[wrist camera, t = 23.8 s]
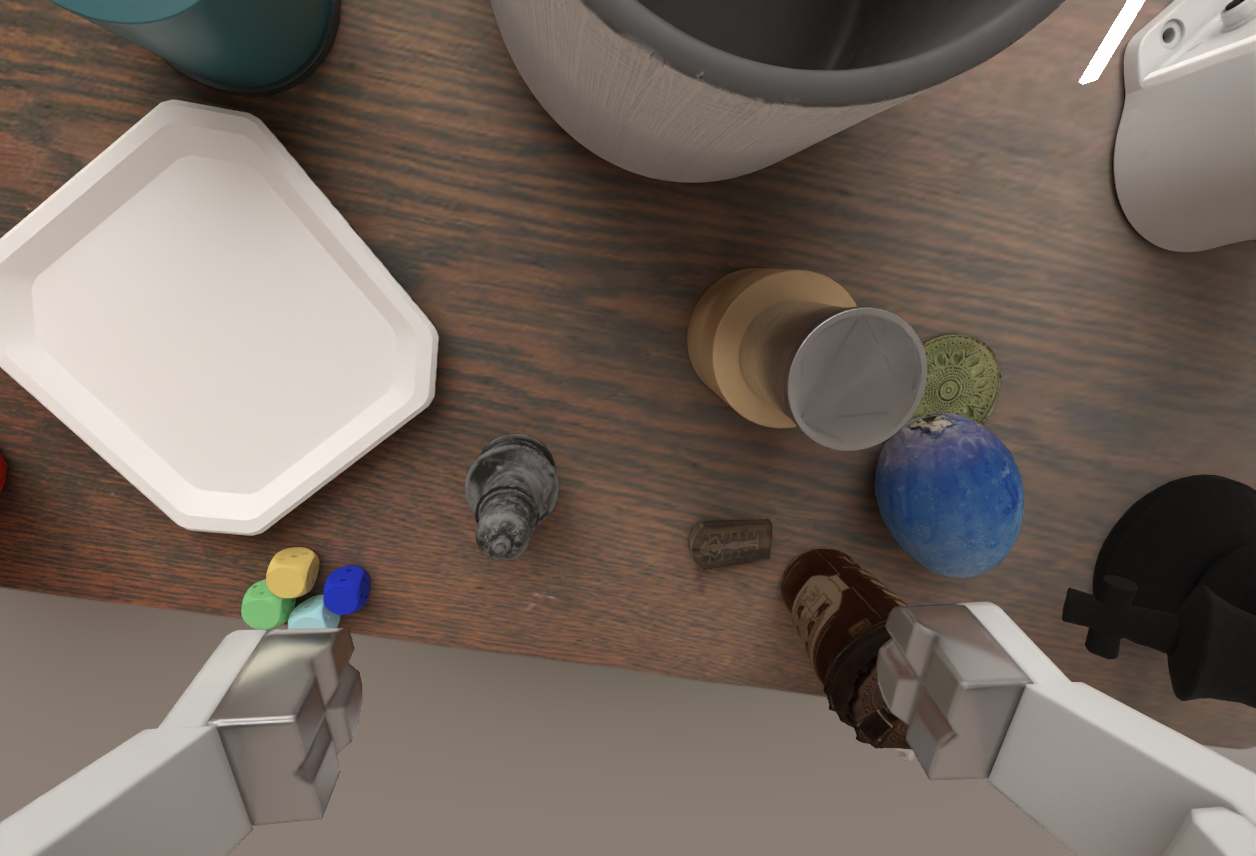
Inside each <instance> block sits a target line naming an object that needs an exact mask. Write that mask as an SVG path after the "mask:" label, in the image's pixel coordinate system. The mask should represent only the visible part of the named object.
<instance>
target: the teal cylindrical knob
mask: <svg viewBox="0 0 1256 856" xmlns="http://www.w3.org/2000/svg"><path fill="white" fill-rule="evenodd" d="M49 1H51V2H53V3H55V4H57V5H59V6H61V7H63V8H65V9H67V10H69V11H70V12H72V13H74V14H76V15H78V16H80V17H82V18H84V19H86V20H88V21H90V22H92V23H94V24H96V25H98V26H100V27H102V28H104V29H106V30H108V31H110V32H112V33H114V34H116V35H118V36H120V37H122V38H124V39H126V40H128V41H130V42H132V43H134V44H136V45H138V46H140V47H142V48H144V49H146V50H148V51H150V52H152V53H154V54H156V55H158V56H160V57H161V58H162V59H163V60H165V61H166V62H167V63H168V64H170V65H171V66H172V67H173V68H175V69H176V70H178V71H179V72H181V73H182V74H184V75H185V76H187V77H189V78H191V79H193V80H195V81H197V82H199V83H201V84H203V85H205V86H207V87H210V88H212V89H215V90H218V91H221V92H224V93H229V94H233V95H239V96H266V95H271V94H276V93H279V92H282V91H285V90H288V89H290V88H292V87H294V86H296V85H297V84H299V83H301V82H302V81H303V80H305V79H306V78H307V77H309V76H310V75H311V74H312V73H313V72H314V71H315V70H316V69H317V68H318V67H319V65H320V64H321V63H322V61H323V60H324V58H325V57H326V55H327V53H328V52H329V50H330V48H331V46H332V43H333V41H334V38H335V35H336V32H337V27H338V22H339V18H340V4H341V1H340V0H49Z"/></svg>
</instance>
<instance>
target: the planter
mask: <svg viewBox="0 0 1256 856" xmlns="http://www.w3.org/2000/svg"><path fill="white" fill-rule="evenodd" d="M1064 1H1065V0H490V3H491V6H492V9H493V13H494V16H495V19H496V22H497V25H498V28H499V30H500V33H501V35H502V38H503V40H504V43H505V45H506V47H507V49H508V52H509V54H510V56H511V58H512V60H513V62H514V64H515V65H516V67H517V69H518V71H519V73H520V74H521V76H522V78H523V79H524V81H525V83H526V84H527V86H528V87H529V89H530V90H531V92H532V93H533V95H534V96H535V97H536V99H537V100H538V101H539V103H540V104H541V105H542V106H543V108H544V109H545V110H546V111H547V112H548V114H549V115H550V116H551V117H552V118H553V119H554V120H555V121H556V122H557V123H558V124H559V125H560V126H561V127H562V128H563V129H564V130H565V131H566V132H567V133H568V134H569V135H570V136H572V137H573V138H574V139H575V140H576V141H578V142H579V143H580V144H581V145H583V146H584V147H585V148H587V149H588V150H590V151H591V152H593V153H594V154H596V155H597V156H599V157H601V158H602V159H604V160H606V161H608V162H610V163H612V164H614V165H616V166H618V167H620V168H623V169H625V170H628V171H630V172H633V173H636V174H639V175H642V176H645V177H649V178H654V179H659V180H665V181H672V182H685V183H700V182H712V181H720V180H726V179H731V178H735V177H739V176H743V175H746V174H749V173H752V172H755V171H758V170H760V169H763V168H765V167H768V166H770V165H772V164H774V163H777V162H779V161H781V160H783V159H785V158H787V157H789V156H791V155H793V154H795V153H798V152H800V151H802V150H804V149H806V148H808V147H810V146H812V145H814V144H816V143H818V142H820V141H822V140H824V139H826V138H828V137H830V136H832V135H834V134H836V133H838V132H840V131H842V130H844V129H846V128H848V127H850V126H853V125H855V124H857V123H859V122H861V121H863V120H865V119H867V118H869V117H872V116H874V115H876V114H878V113H880V112H882V111H884V110H886V109H889V108H891V107H893V106H895V105H897V104H899V103H902V102H904V101H906V100H908V99H910V98H912V97H915V96H917V95H919V94H921V93H923V92H926V91H928V90H930V89H932V88H934V87H937V86H939V85H941V84H943V83H945V82H947V81H949V80H951V79H953V78H955V77H957V76H959V75H961V74H963V73H965V72H967V71H969V70H971V69H973V68H975V67H976V66H978V65H980V64H982V63H984V62H985V61H987V60H988V59H990V58H992V57H993V56H995V55H997V54H998V53H1000V52H1001V51H1003V50H1004V49H1006V48H1007V47H1009V46H1010V45H1012V44H1013V43H1014V42H1016V41H1017V40H1019V39H1020V38H1021V37H1023V36H1024V35H1025V34H1027V33H1028V32H1029V31H1031V30H1032V29H1033V28H1034V27H1036V26H1037V25H1038V24H1039V23H1040V22H1042V21H1043V20H1044V19H1045V18H1046V17H1048V16H1049V15H1050V14H1051V13H1052V12H1053V11H1054V10H1055V9H1057V8H1058V7H1059V6H1060V5H1061V4H1062V3H1063V2H1064Z"/></svg>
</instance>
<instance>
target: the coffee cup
mask: <svg viewBox="0 0 1256 856" xmlns="http://www.w3.org/2000/svg"><path fill="white" fill-rule="evenodd" d="M781 595H782V598H783V601H784V603H785V605H786V606H787V608H788V609H789V611H790V612H791V613H792V619H793V624H794V626H795V628H796V630H797V634H798V635H799V637H800V639H801V641H802V643H803V645H804V647H805V650H806V653H807V655H808V658H809V660H810V662H811V664H812V666H813V668H814V670H815V672H816V675H817V676H818V678H819V679H820V681H821V682H822V683H823V684H824V692H825V693H826V694H827V698H828V700H829V709H830V710H832V711H836V713H837V714H838V716H839V718H840V720H841V721H842V722H844V723H846V724H847V725H849V726H851V727H854V729H855V731H856V734H857V737H856V739H857V740H858V741H860V742H863V743H869V744H871V745H872V746H873V747H875V748H900V749H911V750H912V748H911V747H910V745H909V743H908V742H907V740H906V735H907V729H908V724H906V723H905V722H903V721H902V720H901V719H899V718H898V717H896V716H895V715H894V714H892V713H891V712H890V710H889V708H888V706H887V705H886V703H885V701H884V699H883V697H882V694H881V691H880V688H879V685H878V679H877V670H876V664H877V659H878V654H879V649H880V648H881V647H882V646H883V645H884V644H885V643H886V642H887V641H888V640H890V639H891V638H892V637H891V635H890V634H889V632H888V630H887V629H886V627H885V626H886V622H887V618H888V615H889V613H890V612H891V611H892V609H893V608H894V607H898V606H909V605H907V604H906V603H904V602H903V601H902V600H901V599H900V598H899V597H898V596H897V595H896V594H894V593H893V592H892V591H890V590H888V588H887V587H886V586H885V585H884V584H883V583H881V582H880V581H879V580H877V579H876V578H874V577H873V576H872V575H871V574H870V573H868V572H867V571H865V570H863V569H861V567H860V566H859V565H858V564H857V563H856V562H855V561H854V560H853V559H852V558H851V557H849V556H848V555H846V554H845V553H842V552H840V551H838V550H835V549H832V548H826V547H821V548H812V549H810V550H808V551H806V552H804V553H802V554H801V555H799V556H798V557H796V558H795V559H794V560H793V561H792V562H791V563H790V564H789V566H788V567H787V569H786V571H785V573H784V576H783V578H782V581H781Z"/></svg>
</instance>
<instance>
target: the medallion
mask: <svg viewBox="0 0 1256 856" xmlns="http://www.w3.org/2000/svg"><path fill="white" fill-rule="evenodd" d="M922 345H923V347H924V350H925V354H926V360H927V380H926V386H925V390H924V394H923V396H922V399H921V401H920V403H919V405H918V407H917V409H916V411H915V412H914V414H913V415H912V417H911V418H910V420H909V421H911V420H913V419H915V418H918V417H922V416H926V415H929V414H942V413H946V414H957V415H961V416H964V417H967V418H970V419H971V420H972V421H974V422H976V423H978V424H980V425H982V423H984V422H985V421H986V420H987V418H986V417H989V416H990V414H991V412H992V411H993V407H994V404H995V401H996V399H997V398H998V397H999V393H1000V387H1001V371H1000V367H999V364H998V361H997V359H996V356H995V355H994V353H993V351H992V350H991V349H990V348H989V347H988V346H987V345H986V344H985V343H983V342H982V341H980V340H978V339H975V338H973V337H968V336H964V335H959V334H948V335H940V336H937V337H934V338H931V339H930V340H927V341H925V342H924V343H923V344H922ZM930 369H931V370H930ZM909 421H908V422H909Z"/></svg>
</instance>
